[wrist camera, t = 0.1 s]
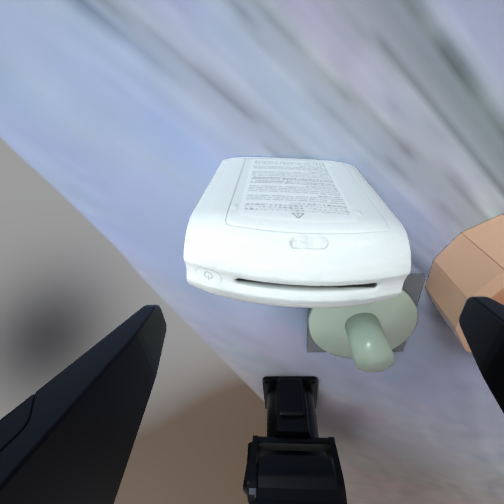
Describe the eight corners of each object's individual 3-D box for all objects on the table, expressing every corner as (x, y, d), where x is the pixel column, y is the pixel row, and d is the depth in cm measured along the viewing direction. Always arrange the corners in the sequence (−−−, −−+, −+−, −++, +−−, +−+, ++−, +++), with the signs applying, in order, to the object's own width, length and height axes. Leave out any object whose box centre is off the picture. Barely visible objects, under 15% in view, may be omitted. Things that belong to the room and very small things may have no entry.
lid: (402, 351, 30) (423, 395, 26) (307, 352, 31) (312, 394, 27) (425, 276, 25) (455, 316, 21) (309, 280, 26) (316, 319, 22)
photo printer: (218, 207, 23) (173, 322, 12) (215, 151, 20) (158, 236, 10) (347, 212, 22) (413, 336, 12) (359, 157, 20) (455, 251, 10)
